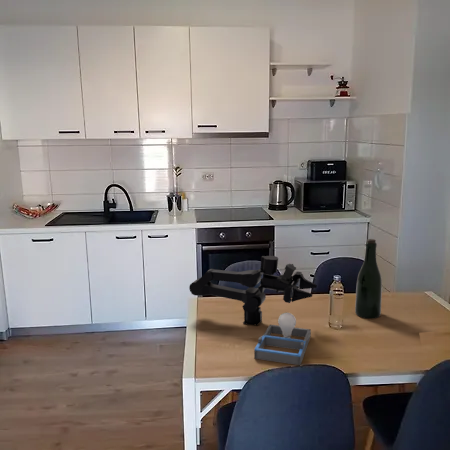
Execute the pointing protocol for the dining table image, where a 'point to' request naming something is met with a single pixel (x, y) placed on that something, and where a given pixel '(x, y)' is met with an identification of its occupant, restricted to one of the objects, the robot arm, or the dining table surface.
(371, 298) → the green wine bottle
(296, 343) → the tray organiser
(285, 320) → the light bulb
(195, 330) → the dining table surface
